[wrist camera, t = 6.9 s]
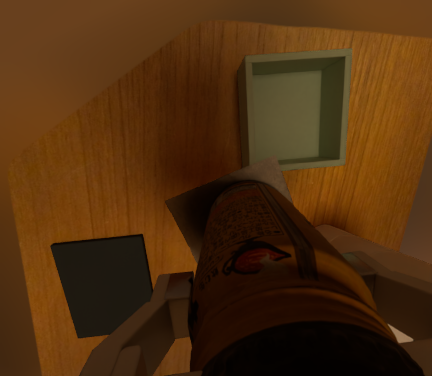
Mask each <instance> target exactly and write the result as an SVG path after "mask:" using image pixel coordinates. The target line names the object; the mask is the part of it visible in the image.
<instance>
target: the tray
mask: <svg viewBox="0 0 432 376" xmlns="http://www.w3.org/2000/svg"><path fill="white" fill-rule="evenodd" d="M351 64H352V48H349V49H334V50H320V51H305V52H291V53H276V54H262V55H247V56H245V57H244V59H243V61H242V63H241V65H240V67H239V69H238V71H237V75H238V94H239V113H240V132H241V151H242V168H245V167H247V166H249V165H252V164H254V163H257V162H259V161H261V160H264V159H266V158H269V157H271V156H274V155H276V158H277V160H278V163H279V166H280V168H281V171H286V170H296V169H307V168H318V167H329V166H340V165H345V156H346V141H347V125H348V110H349V95H350V79H351Z"/></svg>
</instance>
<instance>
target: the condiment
mask: <svg viewBox="0 0 432 376" xmlns="http://www.w3.org/2000/svg"><path fill="white" fill-rule="evenodd" d="M165 203H166V205H167V207H168V209H169V210H170V212H171V213H172V215H173V217H174V219H175V221H176V223H177V225H178V227H179V229H180V230H181V232H182V234H183V236H184V238H185V240H186V242H187V244H188V246H189V247H190V249H191V252H192V254H193V256H194V258H195V260H196V262H197V264H198V265H197V270H196V275H195V279H194V283H193V288H192V293H191V296H190V301H189V307H188V320H187V322H188V330H189V336H190V340H191V344H192V350H191V360H190V372H194V371H202V374H201V376H425V375H424V373H423V369H422V368H421V367H420V366H419V365H418V363H417V362H416V361H414V360H413V359H412V358H411V356H410V355H409V353H408V352H407V351H406V350H405V349H404V348H403V347H402V346H401V345H399V342H398V341H397V338H396V336H395V334H394V333H393V331H392V330H391V328H390V327H389V326H388V324H387V323H386V321H385V320H384V319H383V317H382V316H381V315H380V314H379V313H378V312H377V308H376V303H375V302H374V300H373V298H372V294H371V292H370V290H369V288H368V287H367V286H366V284H365V282H364V280H363V278H362V277H361V276H360V274H359V273H358V271H357V270H356V269H355V268H354V267H353V266H352V265H351V264H350V263H349V262H348V261H347V260H346V259H345V258H344V257H343V256H342V255H341V254H340V253H339V252H338V251H337V249H335V248H334V247H333V245H332V244H330V243H329V242H328V241H327V239H326V238H325V237H324V236H323V235H322V234H321V233H320V232H319V231H318V230H316V229H315V228H314V227H313V225H311V223H310V222H309V221H308V220H307V219H306V218H305V216H303V215H302V214H301V213H300V212H299V211H298V210H297V209H296V208H295V207H294V205H293V202H292V199H291V197H290V194H289V191H288V188H287V186H286V183H285V180H284V177H283V174H282V171H281V168H280V166H279V163H278V160H277V158H276V155H274V156H271V157H269V158H266V159H264V160H261V161H259V162H257V163H254V164H252V165H249V166H247V167H245V168H242V169H240V170H237V171H235V172H232V173H230V174H228V175H225V176H223V177H221V178H218V179H216V180H214V181H212V182H209V183H207V184H205V185H202V186H199V187H197V188H195V189H192V190H189V191H187V192H185V193H183V194H181V195H178V196H176V197H173V198H171V199H169V200H166V201H165Z"/></svg>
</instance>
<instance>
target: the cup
mask: <svg viewBox="0 0 432 376" xmlns="http://www.w3.org/2000/svg"><path fill="white" fill-rule="evenodd" d="M315 229H316V230H318V231H319V232H320V233H321V234H322V235H323V236H324V237H325V238H326V239H327V241H328V242H329V243H330V244H332V245H333V247H334V248H335V249H337V251H338V252H339V253H340V254H341V253H348V252H353V251H363V252H364V253H366V254H367V255H369V256H370V257H371V258H373V259H374V260H376V261H377V262H379V263H380V264H382V265H383V266H384V267H386V268H387V269H389V270H390V271H396V272H399V273H403V274H406V275H409V276H412V277H415V278H418V279H421V280H424V281H427V282H430V283H432V264H429V263H426V262H424V261H421V260H419V259H416V258H414V257H411V256H408V255H405V254H402V253H400V252H398V251H395V250H393V249H390V248H387V247H385V246H382V245H379V244H377V243H374V242H372V241H369V240H366V239H364V238H361V237H358V236H356V235H354V234H351V233H348V232H346V231H343V230H341V229H338V228H336V227H333V226H331V225H327V224H323V225H319V226H317V227H316V228H315ZM388 326H389V327H390V328H391V330H392V331H393V333H394V334H395V336H396V338H397V341H398V342H399V343H403V342H410V341H415V340H413V339H412V338H410V337H408V336H407V335H405V334H404V333H402V332H400V331H399V330H397V329H395V328H394V327H392V326H390V325H389V324H388Z"/></svg>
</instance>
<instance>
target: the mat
mask: <svg viewBox="0 0 432 376" xmlns="http://www.w3.org/2000/svg"><path fill="white" fill-rule="evenodd" d="M50 247H51V250H52V253H53V257H54V260H55V263H56V267H57V270H58V273H59V277H60V280H61V283H62V287H63V290H64V293H65V297H66V300H67V303H68V307H69V310H70V313H71V317H72V320H73V323H74V327H75V330H76V333H77V337H78V338H86V337H94V336H102V335H110V334H111V333H112V332H114V331H115V330H116V329H117V328H118V327H119V326H120V325H121V324H123V323H124V322H125V321H126V320H127V319H128V318H129V317H130V316H132V315H133V314H134V313H135V312H136V311H137V310H138V309H139V308H141V307H142V306H143V305H144V304H145V303H146V302H150V300H151V297H152V294H153V288H152V283H151V277H150V271H149V266H148V260H147V255H146V249H145V244H144V238H143V234H141V235H131V236H121V237H111V238H102V239H92V240H82V241H72V242H63V243H54V244H52V245H51V246H50Z"/></svg>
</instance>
